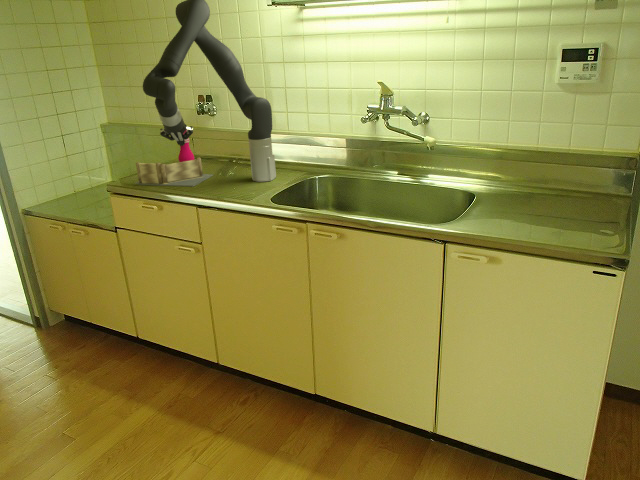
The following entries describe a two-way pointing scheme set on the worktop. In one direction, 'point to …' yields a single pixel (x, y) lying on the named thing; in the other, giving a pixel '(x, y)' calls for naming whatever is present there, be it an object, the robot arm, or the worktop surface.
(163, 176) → the fence gate
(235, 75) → the robot arm
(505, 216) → the worktop surface
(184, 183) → the card
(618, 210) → the worktop surface
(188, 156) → the pepper mill
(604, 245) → the worktop surface
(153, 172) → the fence frame
